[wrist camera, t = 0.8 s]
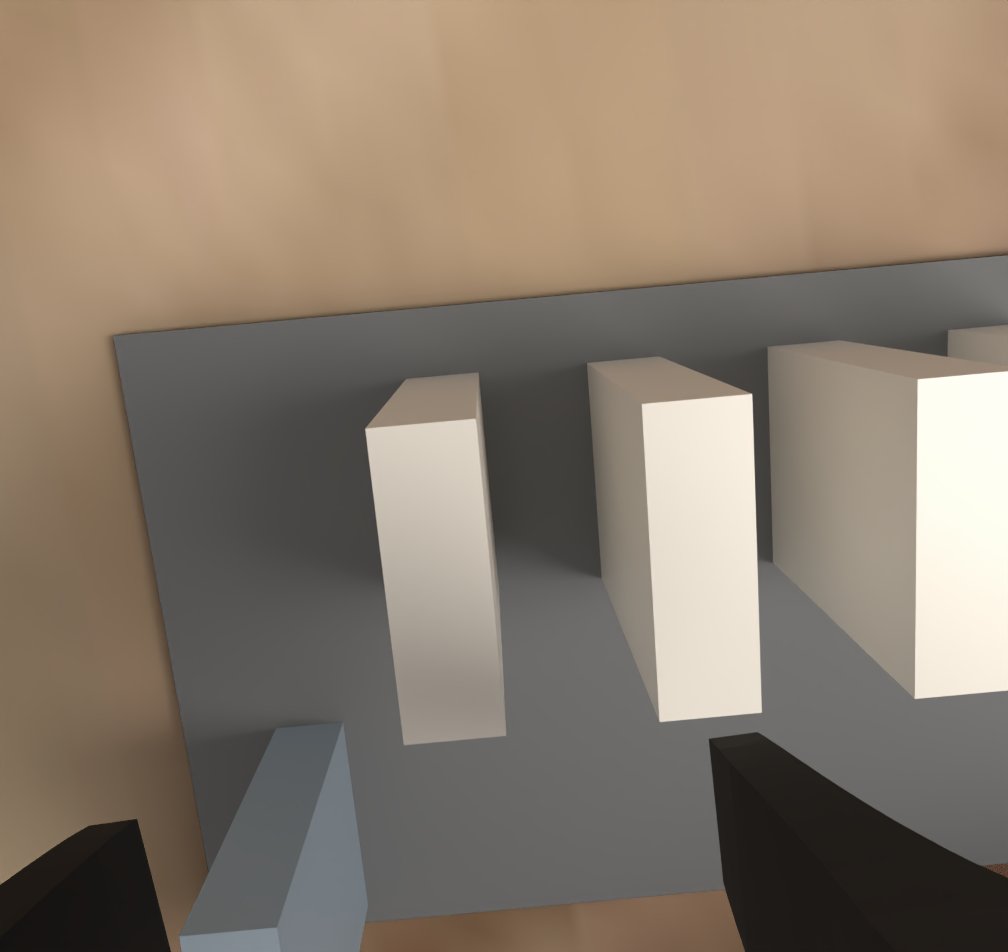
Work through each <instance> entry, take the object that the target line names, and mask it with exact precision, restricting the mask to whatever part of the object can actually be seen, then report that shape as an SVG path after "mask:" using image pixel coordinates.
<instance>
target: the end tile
mask: <svg viewBox="0 0 1008 952" xmlns="http://www.w3.org/2000/svg"><path fill="white" fill-rule="evenodd" d="M367 908H368V901H367V894H366V886H365V879H364V872H363V864H362V857H361V850H360V843H359V835H358V828H357V821H356V813H355V806H354V799H353V791H352V784H351V777H350V769H349V762H348V755H347V747H346V740H345V733H344V726H343V722H339V723H328V724H318V725H307V726H296V727H285V728H276V730H275V732H274V734H273V736H272V738H271V741H270V743H269V745H268V747H267V749H266V751H265V753H264V756H263V758H262V760H261V762H260V764H259V766H258V768H257V771H256V773H255V775H254V777H253V779H252V781H251V783H250V786H249V788H248V790H247V792H246V794H245V796H244V798H243V800H242V803H241V805H240V807H239V809H238V811H237V813H236V815H235V818H234V820H233V822H232V824H231V826H230V828H229V830H228V833H227V835H226V837H225V839H224V841H223V843H222V845H221V848H220V850H219V852H218V854H217V856H216V858H215V860H214V863H213V865H212V867H211V869H210V871H209V873H208V875H207V877H206V880H205V882H204V884H203V886H202V888H201V890H200V892H199V895H198V897H197V899H196V901H195V903H194V905H193V907H192V910H191V912H190V914H189V916H188V918H187V920H186V922H185V925H184V927H183V929H182V931H181V933H180V935H179V940H180V945H181V951H182V952H359V951H360V946H361V940H362V935H363V930H364V924H365V919H366V913H367Z"/></svg>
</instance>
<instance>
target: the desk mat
mask: <svg viewBox="0 0 1008 952" xmlns="http://www.w3.org/2000/svg"><path fill="white" fill-rule="evenodd" d="M999 325H1008V255H1002V256H991V257H980V258H969V259H957V260H946V261H935V262H924V263H913V264H902V265H891V266H880V267H869V268H858V269H846V270H835V271H824V272H813V273H802V274H791V275H780V276H769V277H758V278H747V279H736V280H724V281H713V282H702V283H691V284H680V285H669V286H658V287H647V288H636V289H625V290H614V291H602V292H591V293H580V294H569V295H558V296H547V297H536V298H525V299H514V300H503V301H491V302H480V303H469V304H458V305H447V306H436V307H425V308H414V309H403V310H392V311H381V312H369V313H358V314H347V315H336V316H325V317H314V318H303V319H292V320H281V321H270V322H259V323H247V324H236V325H225V326H214V327H203V328H192V329H181V330H170V331H159V332H148V333H136V334H125V335H116V336H113V339H114V344H115V350H116V356H117V361H118V367H119V373H120V378H121V384H122V389H123V395H124V401H125V406H126V412H127V418H128V423H129V429H130V434H131V440H132V446H133V451H134V457H135V463H136V468H137V474H138V479H139V485H140V491H141V496H142V502H143V508H144V513H145V519H146V524H147V530H148V536H149V541H150V547H151V552H152V558H153V564H154V569H155V575H156V581H157V586H158V592H159V597H160V603H161V609H162V614H163V620H164V626H165V631H166V637H167V642H168V648H169V654H170V659H171V665H172V671H173V676H174V682H175V687H176V693H177V699H178V704H179V710H180V716H181V721H182V727H183V732H184V738H185V744H186V749H187V755H188V761H189V766H190V772H191V777H192V783H193V789H194V794H195V800H196V805H197V811H198V817H199V822H200V828H201V834H202V839H203V845H204V850H205V856H206V862H207V867H208V873H209V871H210V869H211V867H212V865H213V863H214V860H215V858H216V856H217V854H218V852H219V850H220V848H221V845H222V843H223V841H224V839H225V837H226V835H227V833H228V830H229V828H230V826H231V824H232V822H233V820H234V818H235V815H236V813H237V811H238V809H239V807H240V805H241V803H242V800H243V798H244V796H245V794H246V792H247V790H248V788H249V786H250V783H251V781H252V779H253V777H254V775H255V773H256V771H257V768H258V766H259V764H260V762H261V760H262V758H263V756H264V753H265V751H266V749H267V747H268V745H269V743H270V741H271V738H272V736H273V734H274V732H275V730H276V728H285V727H296V726H307V725H318V724H328V723H339V722H343V726H344V733H345V740H346V747H347V755H348V762H349V769H350V777H351V784H352V791H353V799H354V806H355V813H356V821H357V828H358V835H359V843H360V850H361V857H362V864H363V872H364V879H365V886H366V894H367V901H368V908H367V913H366V919H365V923H368V922H379V921H390V920H401V919H412V918H422V917H433V916H444V915H455V914H466V913H476V912H487V911H498V910H509V909H520V908H530V907H541V906H552V905H563V904H574V903H584V902H595V901H606V900H617V899H628V898H639V897H649V896H660V895H671V894H682V893H693V892H703V891H714V890H725V887H724V883H723V874H722V864H721V855H720V845H719V835H718V825H717V815H716V806H715V796H714V786H713V776H712V767H711V757H710V747H709V739H711V738H718V737H725V736H732V735H739V734H746V733H753V732H758V733H760V734H762V735H763V736H765V737H767V738H768V739H770V740H771V741H773V742H774V743H776V744H777V745H779V746H780V747H782V748H783V749H784V750H786V751H787V752H789V753H790V754H792V755H793V756H795V757H796V758H798V759H799V760H801V761H802V762H804V763H805V764H807V765H808V766H810V767H811V768H812V769H814V770H815V771H817V772H818V773H820V774H821V775H823V776H824V777H826V778H827V779H829V780H830V781H832V782H834V783H835V784H837V785H838V786H840V787H841V788H843V789H844V790H846V791H847V792H849V793H851V794H852V795H854V796H855V797H857V798H858V799H860V800H862V801H863V802H865V803H867V804H868V805H870V806H871V807H873V808H875V809H876V810H878V811H880V812H881V813H883V814H885V815H887V816H888V817H890V818H892V819H893V820H895V821H897V822H898V823H900V824H902V825H904V826H906V827H907V828H909V829H911V830H913V831H915V832H916V833H918V834H920V835H922V836H924V837H926V838H927V839H929V840H931V841H933V842H935V843H936V844H938V845H940V846H942V847H944V848H946V849H948V850H950V851H952V852H954V853H956V854H958V855H960V856H962V857H964V858H966V859H968V860H970V861H972V862H974V863H976V864H978V865H980V866H984V865H995V864H1006V863H1008V690H1007V691H996V692H986V693H975V694H964V695H953V696H942V697H931V698H920V699H914V698H913V697H912V696H911V695H910V694H909V693H908V692H907V691H906V690H905V689H904V688H903V687H902V686H901V685H900V684H899V683H898V682H897V681H896V680H895V679H894V678H892V677H891V676H890V675H889V674H888V673H887V672H886V671H885V670H884V669H883V668H882V667H881V666H880V665H879V664H878V663H877V662H876V661H875V660H874V659H873V658H872V657H871V656H870V655H868V654H867V653H866V652H865V651H864V650H863V649H862V648H861V647H860V646H859V645H858V644H857V643H856V642H855V641H854V640H853V639H852V638H851V637H850V636H849V635H848V634H847V633H846V632H845V631H843V630H842V629H841V628H840V627H839V626H838V625H837V624H836V623H835V622H834V621H833V620H832V619H831V618H830V617H829V616H828V615H827V614H826V613H825V612H824V611H823V610H822V609H821V608H820V607H818V606H817V605H816V604H815V603H814V602H813V601H812V600H811V599H810V598H809V597H808V596H807V595H806V594H805V593H804V592H803V591H802V590H801V589H800V588H799V587H798V586H797V585H796V584H794V583H793V582H792V581H791V580H790V579H789V578H788V577H787V576H786V575H785V574H784V573H783V572H782V571H781V570H780V569H779V568H778V567H777V566H776V565H775V564H774V563H773V541H772V503H771V465H770V426H769V388H768V350H767V347H770V346H781V345H792V344H804V343H815V342H826V341H837V340H841V341H848V342H854V343H861V344H867V345H874V346H880V347H886V348H893V349H899V350H906V351H912V352H919V353H925V354H932V355H938V356H945V357H948V330H955V329H966V328H977V327H988V326H999ZM657 356H660V357H662V358H665V359H667V360H670V361H672V362H675V363H677V364H679V365H682V366H684V367H687V368H689V369H692V370H694V371H697V372H699V373H702V374H704V375H707V376H709V377H712V378H714V379H717V380H719V381H721V382H724V383H726V384H729V385H731V386H734V387H736V388H739V389H741V390H744V391H746V392H749V393H751V394H752V401H753V434H754V467H755V501H756V534H757V568H758V601H759V634H760V668H761V701H762V713H753V714H742V715H732V716H721V717H710V718H699V719H688V720H677V721H666V722H659V719H658V717H657V714H656V712H655V709H654V707H653V704H652V702H651V699H650V697H649V695H648V692H647V690H646V687H645V685H644V682H643V680H642V677H641V675H640V672H639V670H638V667H637V665H636V662H635V660H634V657H633V655H632V652H631V650H630V647H629V645H628V642H627V640H626V637H625V635H624V632H623V630H622V628H621V625H620V623H619V620H618V618H617V615H616V613H615V610H614V608H613V605H612V603H611V600H610V598H609V595H608V593H607V590H606V588H605V585H604V583H603V580H602V576H601V561H600V546H599V532H598V517H597V502H596V488H595V473H594V459H593V444H592V429H591V415H590V400H589V385H588V371H587V363H591V362H602V361H613V360H624V359H635V358H646V357H657ZM477 372H479V382H480V393H481V403H482V414H483V425H484V435H485V446H486V457H487V467H488V478H489V489H490V499H491V510H492V521H493V531H494V542H495V553H496V563H497V574H498V585H499V602H500V622H501V642H502V661H503V681H504V701H505V721H506V736H499V737H488V738H478V739H467V740H456V741H445V742H434V743H423V744H412V745H404V743H403V734H402V726H401V718H400V710H399V702H398V693H397V685H396V677H395V669H394V661H393V652H392V644H391V636H390V628H389V620H388V611H387V603H386V595H385V587H384V579H383V570H382V562H381V554H380V546H379V538H378V529H377V521H376V513H375V505H374V497H373V488H372V480H371V472H370V464H369V456H368V447H367V439H366V431H365V428H366V427H367V426H368V425H369V423H370V422H371V421H372V420H373V419H374V417H375V416H376V415H377V414H378V413H379V411H380V410H381V409H382V408H383V406H384V405H385V404H386V403H387V402H388V400H389V399H390V398H391V397H392V396H393V394H394V393H395V392H396V391H397V390H398V388H399V387H400V386H401V385H402V383H403V382H404V381H405V380H406V379H411V378H422V377H433V376H444V375H455V374H466V373H477Z"/></svg>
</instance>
